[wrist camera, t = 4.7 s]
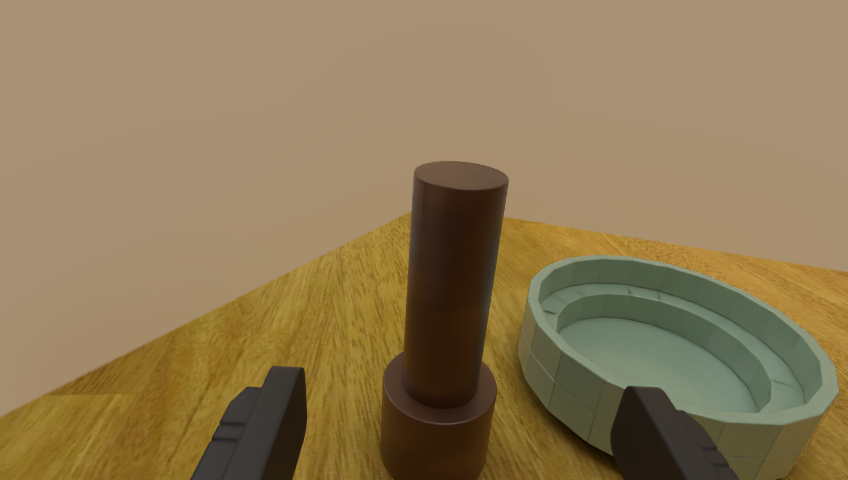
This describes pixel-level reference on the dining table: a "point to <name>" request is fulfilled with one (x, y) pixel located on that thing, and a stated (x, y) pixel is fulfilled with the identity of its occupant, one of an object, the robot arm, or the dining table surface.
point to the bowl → (675, 357)
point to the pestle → (445, 327)
